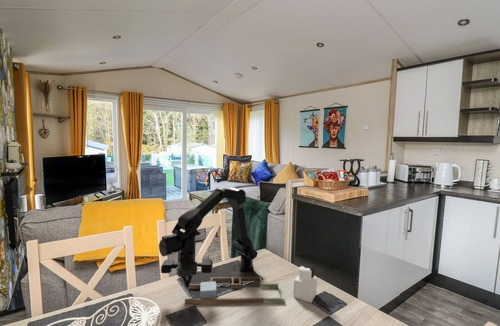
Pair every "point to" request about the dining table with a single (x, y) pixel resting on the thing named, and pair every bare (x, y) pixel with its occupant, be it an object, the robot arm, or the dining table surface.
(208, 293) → the block
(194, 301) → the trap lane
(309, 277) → the medicine bottle
